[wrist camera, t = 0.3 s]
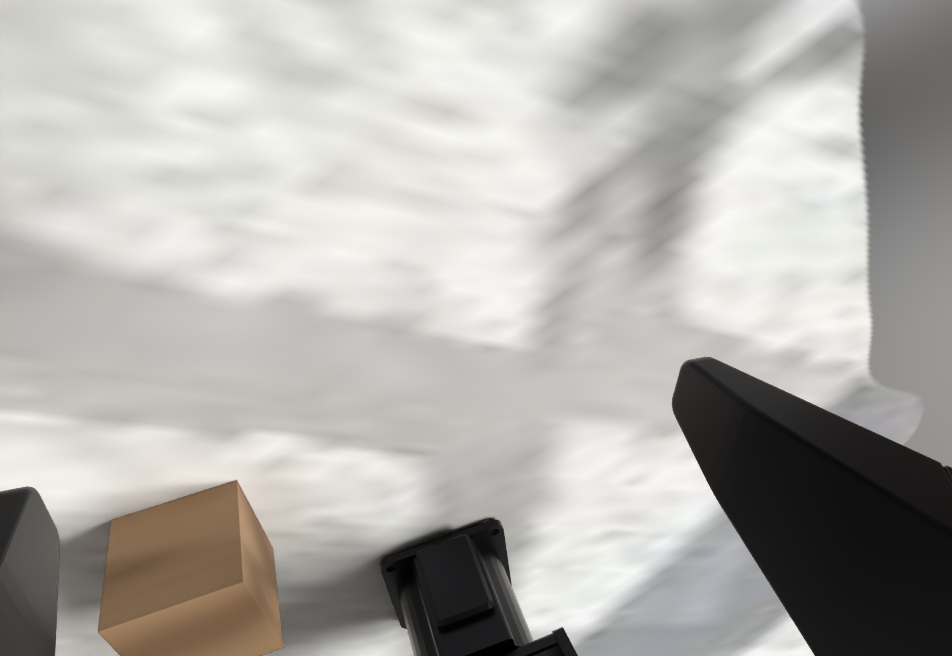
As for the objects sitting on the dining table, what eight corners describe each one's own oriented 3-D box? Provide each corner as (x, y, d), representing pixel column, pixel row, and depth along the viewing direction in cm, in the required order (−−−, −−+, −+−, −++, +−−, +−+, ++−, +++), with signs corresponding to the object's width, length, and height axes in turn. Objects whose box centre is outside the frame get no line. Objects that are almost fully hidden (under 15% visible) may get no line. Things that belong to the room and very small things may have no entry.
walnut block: (273, 546, 31) (283, 647, 27) (161, 584, 30) (156, 694, 27) (236, 478, 28) (243, 582, 24) (111, 518, 27) (97, 632, 23)
